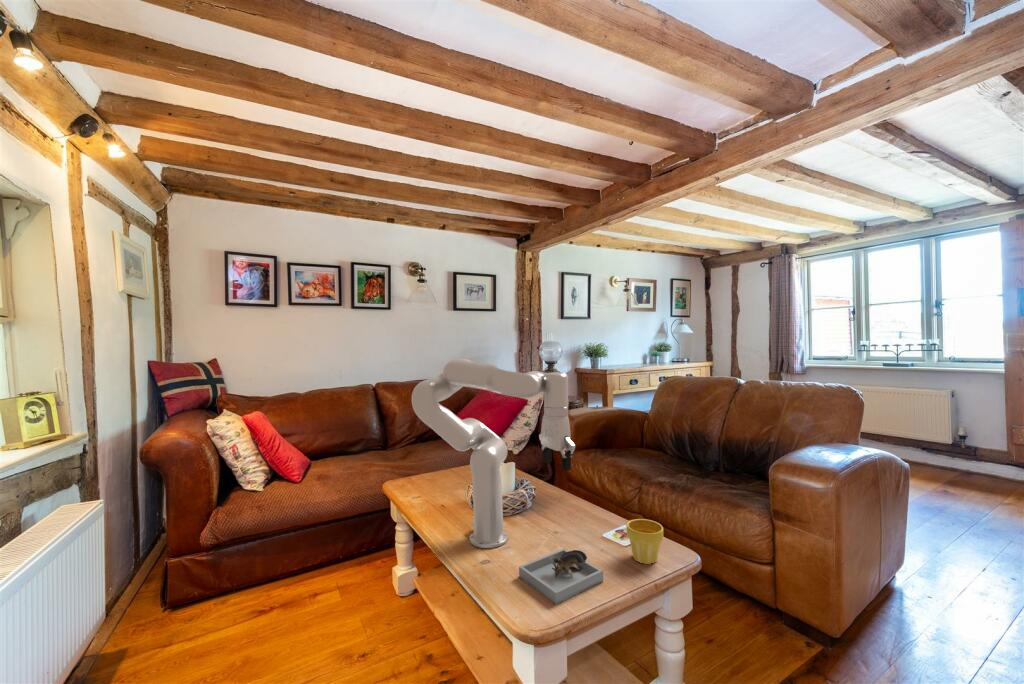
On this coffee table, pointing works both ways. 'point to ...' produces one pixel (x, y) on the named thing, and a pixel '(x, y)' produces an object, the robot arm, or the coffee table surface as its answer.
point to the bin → (559, 578)
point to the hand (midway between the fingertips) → (556, 466)
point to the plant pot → (645, 539)
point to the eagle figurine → (568, 561)
